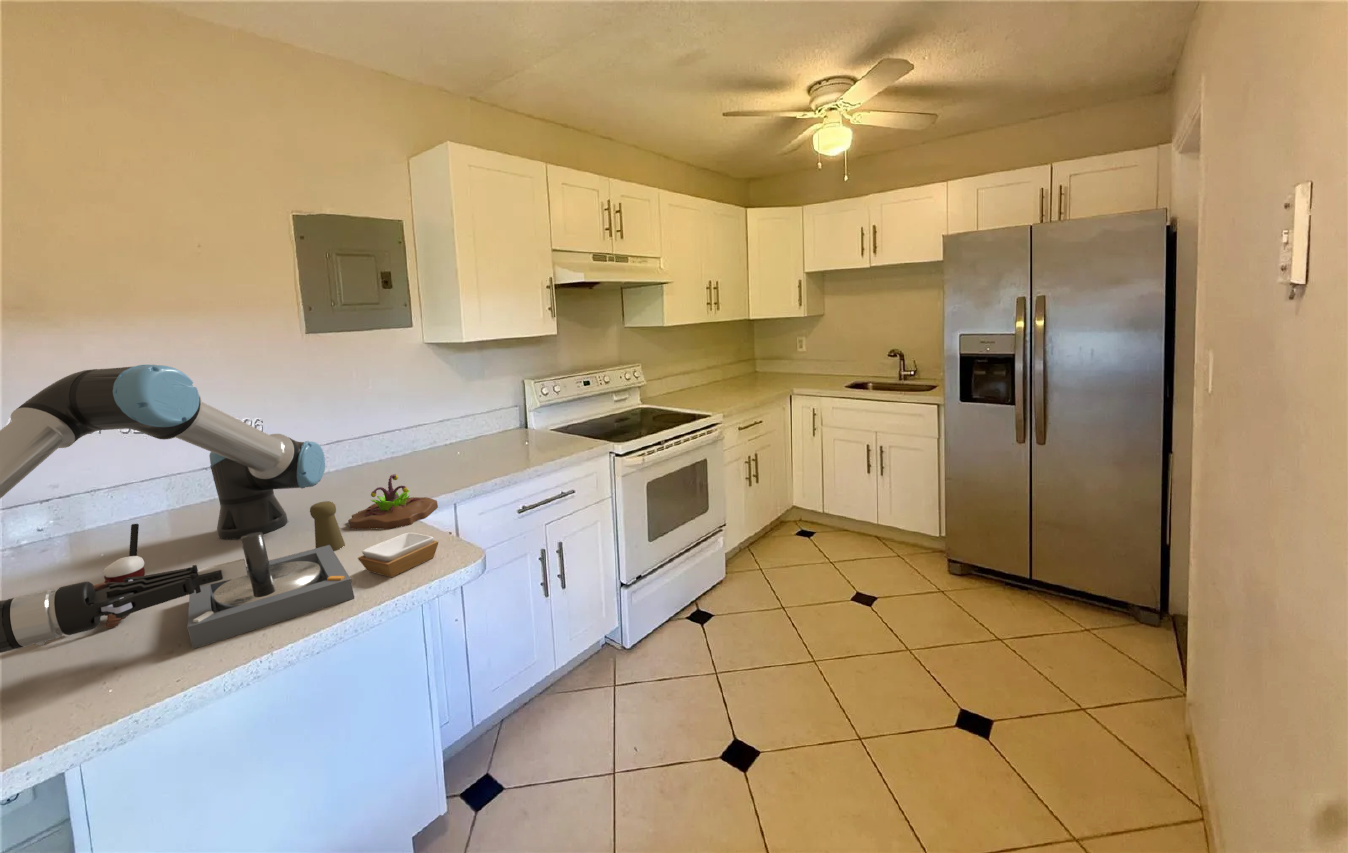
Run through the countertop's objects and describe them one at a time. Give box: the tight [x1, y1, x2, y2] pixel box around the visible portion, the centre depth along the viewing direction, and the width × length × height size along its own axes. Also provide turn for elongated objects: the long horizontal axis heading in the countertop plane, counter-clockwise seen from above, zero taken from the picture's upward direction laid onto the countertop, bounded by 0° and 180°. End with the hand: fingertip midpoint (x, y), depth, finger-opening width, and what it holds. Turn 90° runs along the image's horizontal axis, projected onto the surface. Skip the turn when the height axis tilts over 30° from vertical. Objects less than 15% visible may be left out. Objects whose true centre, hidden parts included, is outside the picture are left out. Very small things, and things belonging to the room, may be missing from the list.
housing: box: [187, 545, 355, 650], centre depth 115 cm, size 24×24×4 cm
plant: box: [348, 473, 439, 530], centre depth 160 cm, size 20×20×11 cm
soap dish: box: [357, 532, 439, 578], centre depth 127 cm, size 12×10×5 cm
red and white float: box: [103, 523, 146, 583], centre depth 126 cm, size 10×6×12 cm, turn 156°
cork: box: [309, 500, 346, 552], centre depth 139 cm, size 6×6×11 cm
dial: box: [213, 532, 322, 611], centre depth 114 cm, size 17×17×13 cm
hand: (245, 566), depth 106 cm, fingers closed
